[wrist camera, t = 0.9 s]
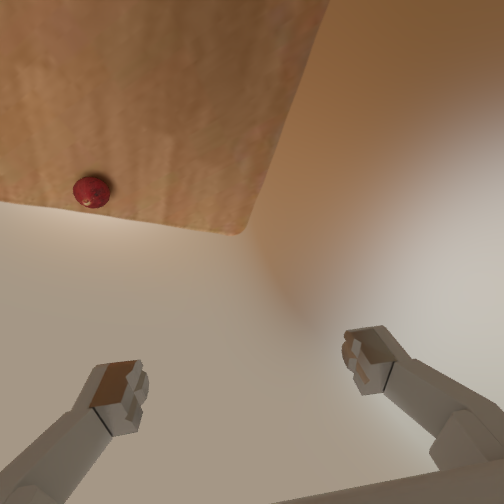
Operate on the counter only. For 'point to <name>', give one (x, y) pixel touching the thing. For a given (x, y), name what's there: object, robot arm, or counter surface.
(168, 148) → the counter surface
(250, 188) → the counter surface
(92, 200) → the onion
